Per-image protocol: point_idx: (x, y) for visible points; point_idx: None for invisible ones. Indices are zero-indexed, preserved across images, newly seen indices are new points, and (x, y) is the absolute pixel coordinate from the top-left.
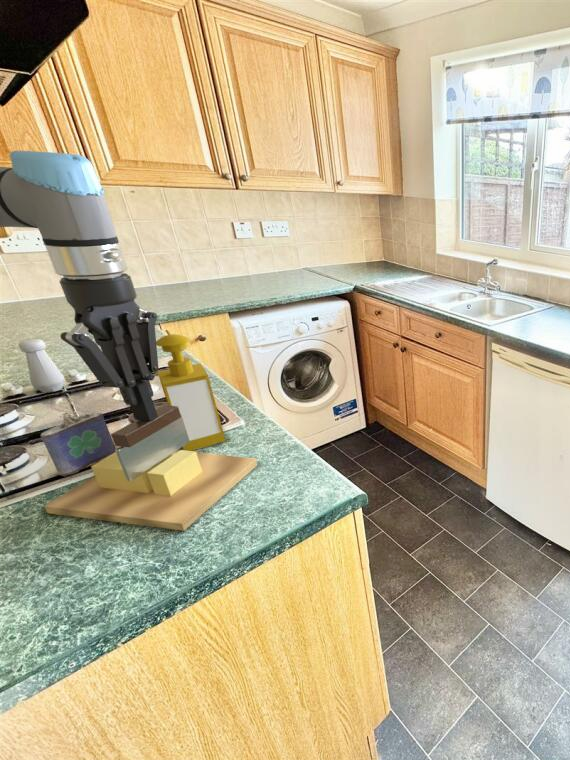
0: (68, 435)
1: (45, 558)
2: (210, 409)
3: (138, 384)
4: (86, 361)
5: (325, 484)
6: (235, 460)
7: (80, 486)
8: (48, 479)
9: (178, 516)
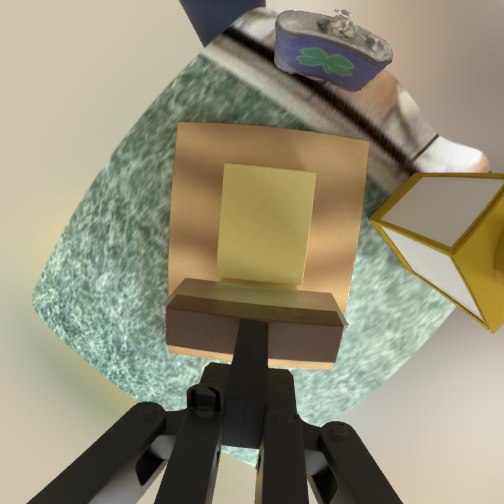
0: (311, 43)
1: (107, 211)
2: (438, 285)
3: (231, 442)
4: (52, 492)
5: None
6: None
7: (231, 130)
8: (265, 48)
9: None
